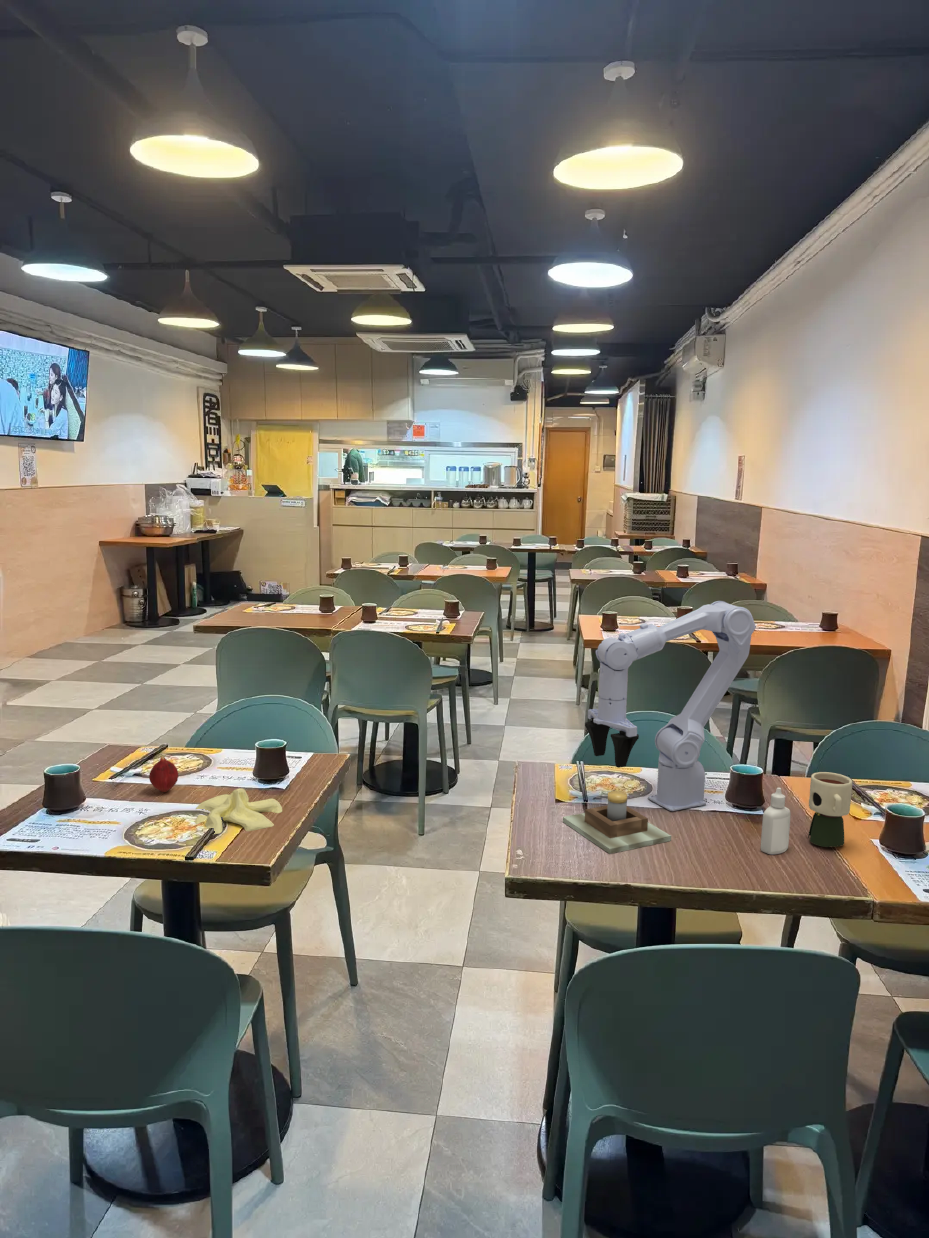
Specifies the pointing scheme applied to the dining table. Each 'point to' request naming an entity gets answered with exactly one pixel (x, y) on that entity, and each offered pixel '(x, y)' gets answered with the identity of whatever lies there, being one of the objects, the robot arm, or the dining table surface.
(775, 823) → the eye dropper bottle
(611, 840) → the holder
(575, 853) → the dining table surface
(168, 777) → the onion
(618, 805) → the yellow capped shaker
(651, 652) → the robot arm
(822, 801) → the character mug
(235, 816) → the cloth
